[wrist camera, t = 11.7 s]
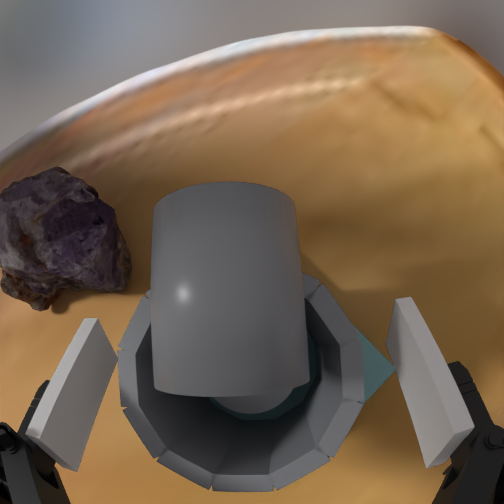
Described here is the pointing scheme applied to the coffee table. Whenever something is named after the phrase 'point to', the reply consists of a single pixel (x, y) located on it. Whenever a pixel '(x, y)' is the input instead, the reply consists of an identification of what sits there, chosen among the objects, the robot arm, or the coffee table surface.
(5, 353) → the coffee table surface
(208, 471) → the elbow
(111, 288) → the rock
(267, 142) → the coffee table surface
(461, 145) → the coffee table surface
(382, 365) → the teal lid with knob
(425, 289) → the coffee table surface
